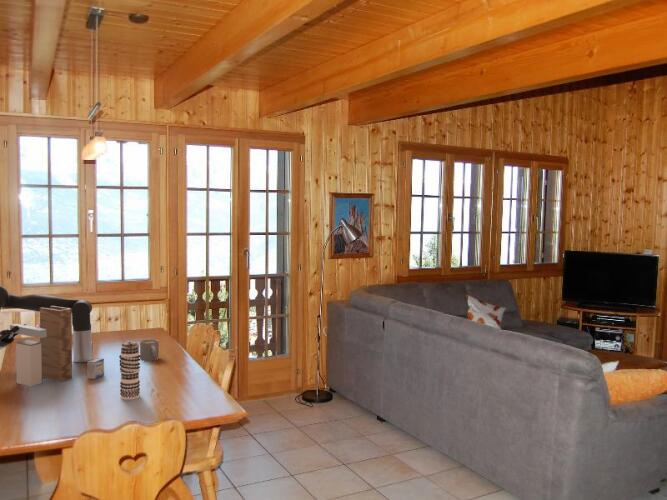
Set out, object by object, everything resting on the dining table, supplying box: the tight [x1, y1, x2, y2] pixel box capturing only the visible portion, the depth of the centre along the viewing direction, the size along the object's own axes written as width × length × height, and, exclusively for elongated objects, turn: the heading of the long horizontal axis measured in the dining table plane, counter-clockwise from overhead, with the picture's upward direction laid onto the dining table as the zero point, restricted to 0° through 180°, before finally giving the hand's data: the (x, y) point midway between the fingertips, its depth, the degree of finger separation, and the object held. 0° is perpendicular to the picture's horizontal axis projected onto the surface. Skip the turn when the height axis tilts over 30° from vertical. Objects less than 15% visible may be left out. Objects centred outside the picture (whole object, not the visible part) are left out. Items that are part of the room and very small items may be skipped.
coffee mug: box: [139, 338, 160, 361], centre depth 339 cm, size 13×10×10 cm
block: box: [15, 339, 43, 387], centre depth 291 cm, size 6×10×20 cm, turn 64°
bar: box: [9, 323, 47, 339], centre depth 289 cm, size 4×21×4 cm, turn 63°
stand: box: [39, 306, 73, 382], centre depth 300 cm, size 7×14×35 cm, turn 64°
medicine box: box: [86, 357, 105, 380], centre depth 304 cm, size 8×4×9 cm, turn 168°
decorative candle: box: [118, 340, 141, 400], centre depth 274 cm, size 9×9×25 cm
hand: (21, 326), depth 291 cm, fingers closed on bar, 3 cm apart
